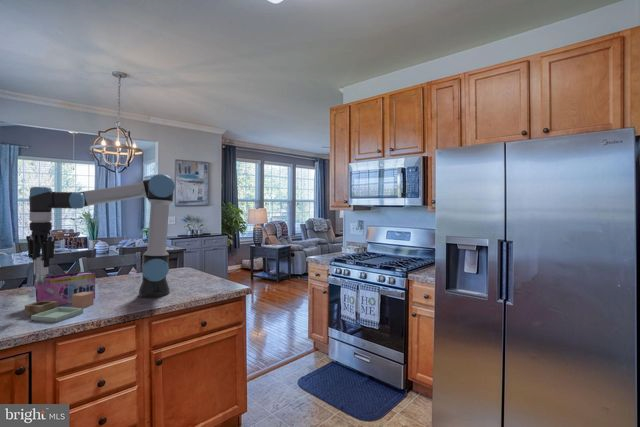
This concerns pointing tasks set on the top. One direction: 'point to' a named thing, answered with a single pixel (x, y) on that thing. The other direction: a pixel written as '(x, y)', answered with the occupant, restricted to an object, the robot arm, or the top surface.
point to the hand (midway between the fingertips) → (41, 274)
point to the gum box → (65, 287)
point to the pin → (39, 272)
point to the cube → (82, 300)
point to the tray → (57, 314)
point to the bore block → (40, 307)
